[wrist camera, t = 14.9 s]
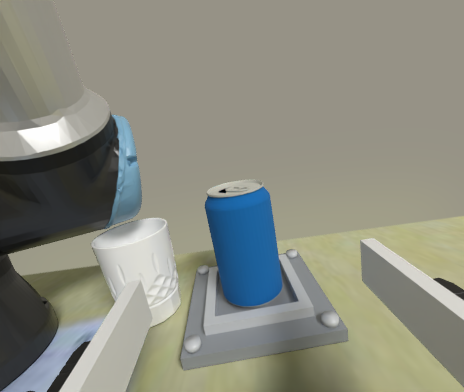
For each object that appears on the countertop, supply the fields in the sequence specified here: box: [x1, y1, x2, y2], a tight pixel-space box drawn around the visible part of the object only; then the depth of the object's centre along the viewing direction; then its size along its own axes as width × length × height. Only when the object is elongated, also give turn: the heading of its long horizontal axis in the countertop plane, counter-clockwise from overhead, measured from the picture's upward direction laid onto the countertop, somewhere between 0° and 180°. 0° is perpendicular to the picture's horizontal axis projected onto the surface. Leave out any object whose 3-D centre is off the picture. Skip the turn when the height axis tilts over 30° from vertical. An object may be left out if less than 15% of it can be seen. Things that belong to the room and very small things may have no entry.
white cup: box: [91, 218, 181, 328], centre depth 28 cm, size 8×8×10 cm
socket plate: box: [180, 249, 348, 370], centre depth 27 cm, size 14×14×2 cm
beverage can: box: [205, 180, 283, 308], centre depth 26 cm, size 6×6×12 cm
